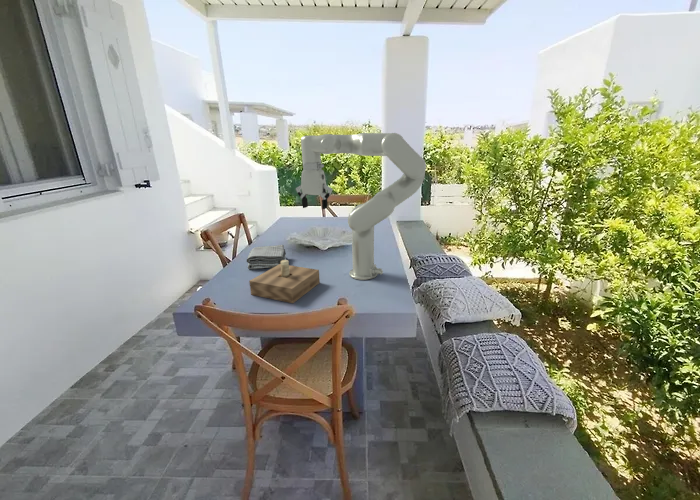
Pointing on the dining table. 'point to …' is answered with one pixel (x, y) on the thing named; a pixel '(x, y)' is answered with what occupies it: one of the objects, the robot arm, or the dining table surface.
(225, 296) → the dining table surface
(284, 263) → the peg
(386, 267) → the dining table surface
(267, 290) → the bore block
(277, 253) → the towel
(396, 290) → the dining table surface
